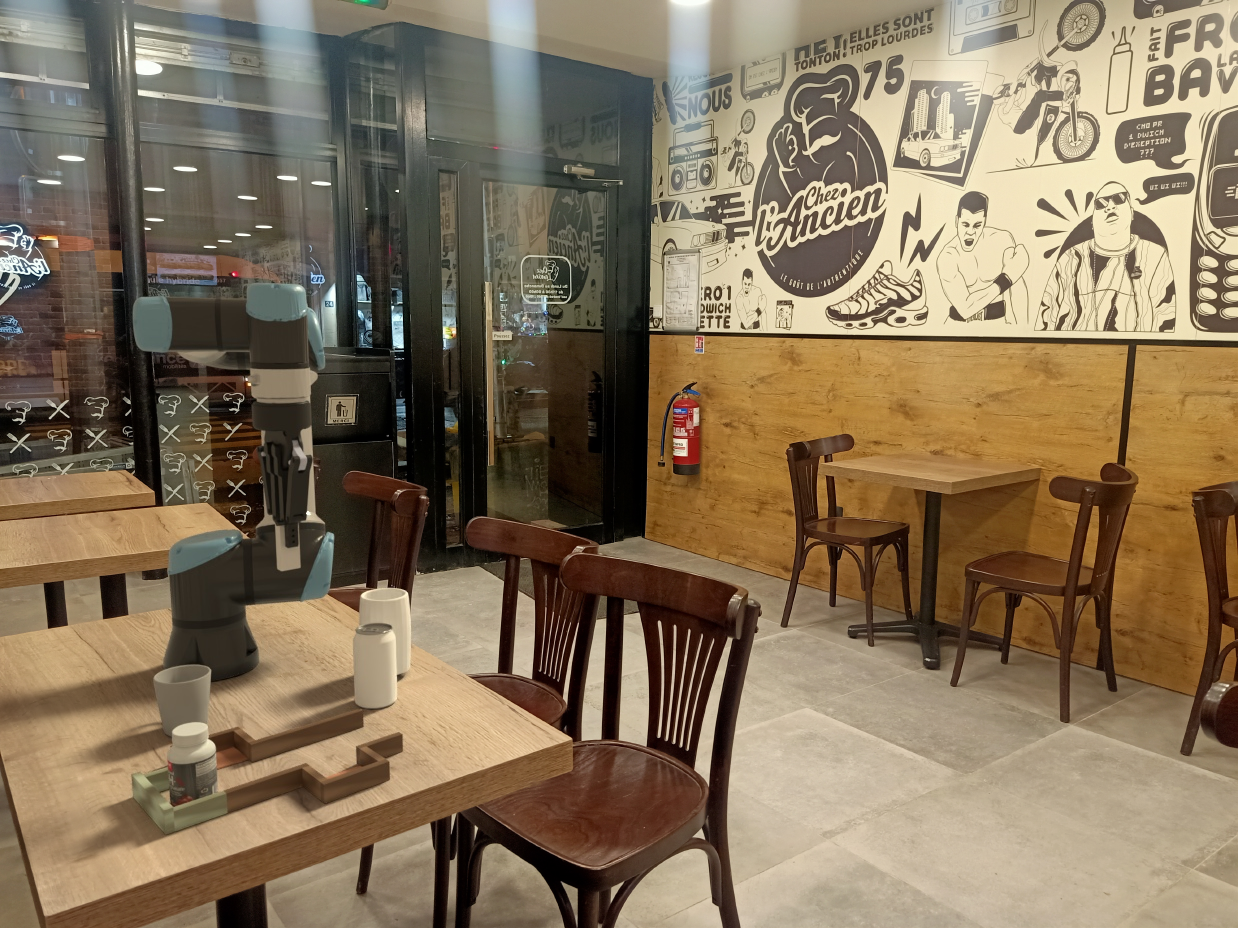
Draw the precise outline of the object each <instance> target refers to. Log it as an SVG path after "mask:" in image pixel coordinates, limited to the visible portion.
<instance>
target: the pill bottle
mask: <svg viewBox="0 0 1238 928" xmlns="http://www.w3.org/2000/svg"><path fill="white" fill-rule="evenodd" d="M209 735H210V734H209V727H208V724H207V725H206V724H205V723H200V722H192V723H186V724H183V725H180V726H178V727H176V728H175V729H173V731H172V737H171V742H172V745H173V746H172V745H171V746H172V747H171V748H169V749H168V751H167V755H166V758H167V767H168V776H169V789H168V790H169V803H170V804H171V805H172V806H173V807H176V806H179V805H182V804H185V803H188V802H191V801H194V800H197V799H200V798H203V797H206V796H209V795H212V794H215V793H218V792H219V786H218V785H219V782H218V780H219V779H218V770H217V762H216V747H215V744H214V743H213V742H212V741H211V740H209V739H208V737H209Z"/></svg>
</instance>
